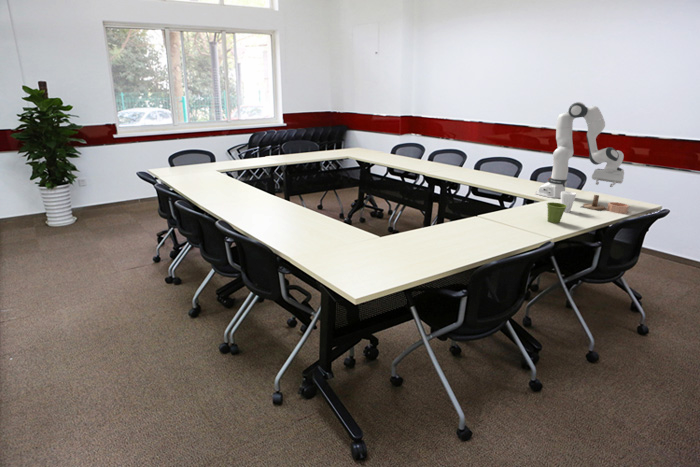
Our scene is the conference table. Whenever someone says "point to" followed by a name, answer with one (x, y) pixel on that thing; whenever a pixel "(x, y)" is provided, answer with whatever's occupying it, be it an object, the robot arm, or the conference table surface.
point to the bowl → (617, 207)
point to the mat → (591, 209)
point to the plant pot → (555, 211)
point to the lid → (594, 204)
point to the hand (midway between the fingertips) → (603, 185)
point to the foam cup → (567, 199)
